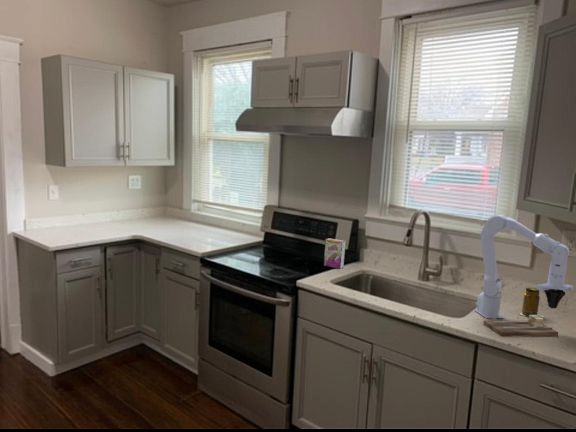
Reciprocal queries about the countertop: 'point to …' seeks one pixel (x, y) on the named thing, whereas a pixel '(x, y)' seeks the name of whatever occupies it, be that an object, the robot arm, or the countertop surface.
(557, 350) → the countertop surface
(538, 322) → the fader tab
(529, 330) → the console
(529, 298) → the condiment
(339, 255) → the candy bar box
